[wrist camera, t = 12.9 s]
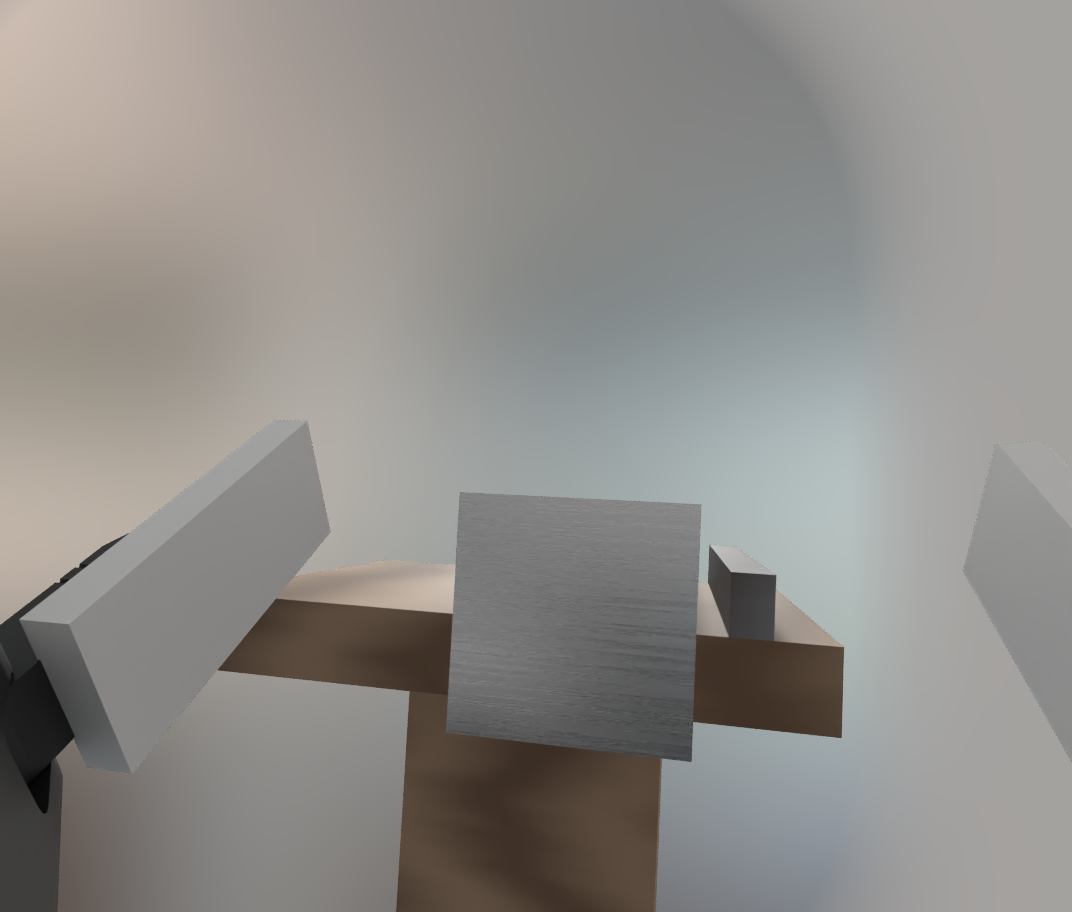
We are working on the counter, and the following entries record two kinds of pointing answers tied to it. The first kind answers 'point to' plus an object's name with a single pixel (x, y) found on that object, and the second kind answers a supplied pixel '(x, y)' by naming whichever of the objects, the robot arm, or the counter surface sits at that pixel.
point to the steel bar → (575, 623)
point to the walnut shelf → (530, 768)
